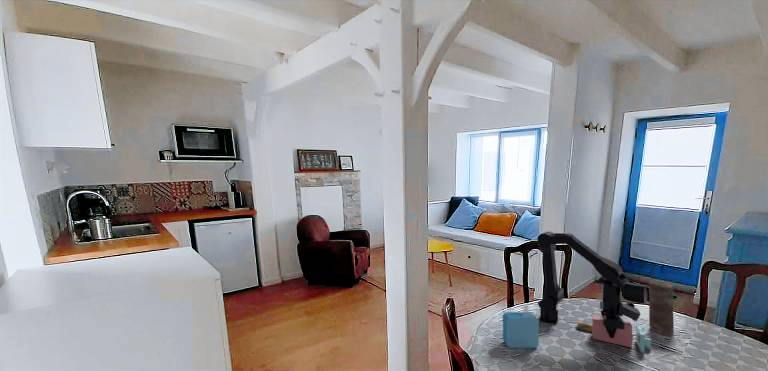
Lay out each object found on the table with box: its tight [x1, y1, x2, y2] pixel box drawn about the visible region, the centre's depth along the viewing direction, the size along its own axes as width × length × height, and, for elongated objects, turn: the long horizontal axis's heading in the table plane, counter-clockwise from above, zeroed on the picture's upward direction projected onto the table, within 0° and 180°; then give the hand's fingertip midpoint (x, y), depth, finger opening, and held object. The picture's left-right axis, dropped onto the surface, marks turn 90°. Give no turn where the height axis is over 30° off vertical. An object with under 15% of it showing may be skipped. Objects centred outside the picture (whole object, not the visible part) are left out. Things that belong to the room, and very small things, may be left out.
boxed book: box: [591, 314, 633, 348], centre depth 116 cm, size 12×4×8 cm, turn 58°
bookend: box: [635, 323, 652, 355], centre depth 111 cm, size 4×8×7 cm, turn 148°
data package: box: [502, 311, 540, 349], centre depth 115 cm, size 12×4×12 cm, turn 88°
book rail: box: [577, 320, 634, 340], centre depth 122 cm, size 18×2×2 cm, turn 58°
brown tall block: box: [648, 281, 675, 336], centre depth 122 cm, size 8×7×20 cm
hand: (611, 335), depth 116 cm, fingers closed on boxed book, 4 cm apart
